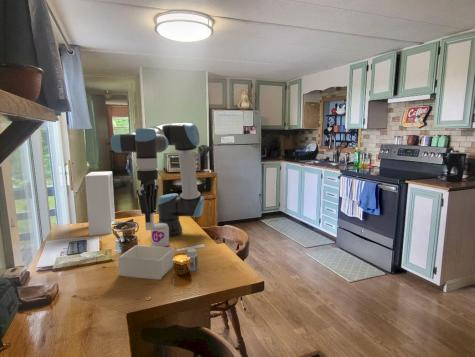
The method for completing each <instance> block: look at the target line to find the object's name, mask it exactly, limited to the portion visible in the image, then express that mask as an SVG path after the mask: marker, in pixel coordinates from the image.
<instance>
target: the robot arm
mask: <svg viewBox="0 0 475 357" xmlns="http://www.w3.org/2000/svg"><path fill="white" fill-rule="evenodd" d="M199 145H200V133H199V128H198V127H197V125H196V124H195V123H189V122H183V123H182V122H181V123H178V122H177V123H176V122H175V123H164V124H163V123H162V124H160V125H155V126H151V127H150V128H149V127H146V128H145V127H142V128H136V129H135V132H130V133H123V134H122V133H118V134H117V133H116V134H113V135H112V136H111V138H110V147H111V149H112V151H113V152H114V153H120V154H123V153H135V155H136V156H135V157H136V158H135V159H136V161H135V162H136V163H135V164H136V169H137V171H136V177H137V181H140V184H139V189H136V194H137V197H138V202H139V207H140V212H141V214H142V215H143V214H144V216H145V217H144V220H145V231H151V230H154V224H155V222H154V220H155V219H154V214H155V213H157V208H158V223H166V224H167V225H168V227H169V238H171V237H176V236H179V235H181V234H182V233H183V227H182V225H181V222H180V217H188V218H190V217H191V218H194V217H196V218H197V217H201V216H202V214H203V213H204V212H203V211H204V205H205V197H203V196H201V192H200V191H199V190H198V183H197V181H198V180H197V170H196V158H195V157H196V155H195V150H196V149H197V148H198V147H197V146H199ZM169 146H174V150H175V151H176V152H177V153H178V162H179V170H180V172H179V173H180V181H181V191H182V192H181V193H180V194H178V193H174V192H173V193H168V194H164V195H160V196H159V197H158V191H159V188H160V187H159V185H157V184H156V181H157V180H158V179H159V177H158V176H159V175H158V170H157V169H158V153H163V152H165V151H167V149H168V147H169ZM157 203H158V204H157Z"/></svg>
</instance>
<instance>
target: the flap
mask: <svg viewBox="0 0 475 357" xmlns="http://www.w3.org/2000/svg"><path fill="white" fill-rule="evenodd" d="M109 257H111V258H112V257H114V258H118V257H121V256H120V255H118V256H117V255H109ZM122 258H133V259H147V258H134V257H122ZM149 260H158V259H149Z"/></svg>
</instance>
